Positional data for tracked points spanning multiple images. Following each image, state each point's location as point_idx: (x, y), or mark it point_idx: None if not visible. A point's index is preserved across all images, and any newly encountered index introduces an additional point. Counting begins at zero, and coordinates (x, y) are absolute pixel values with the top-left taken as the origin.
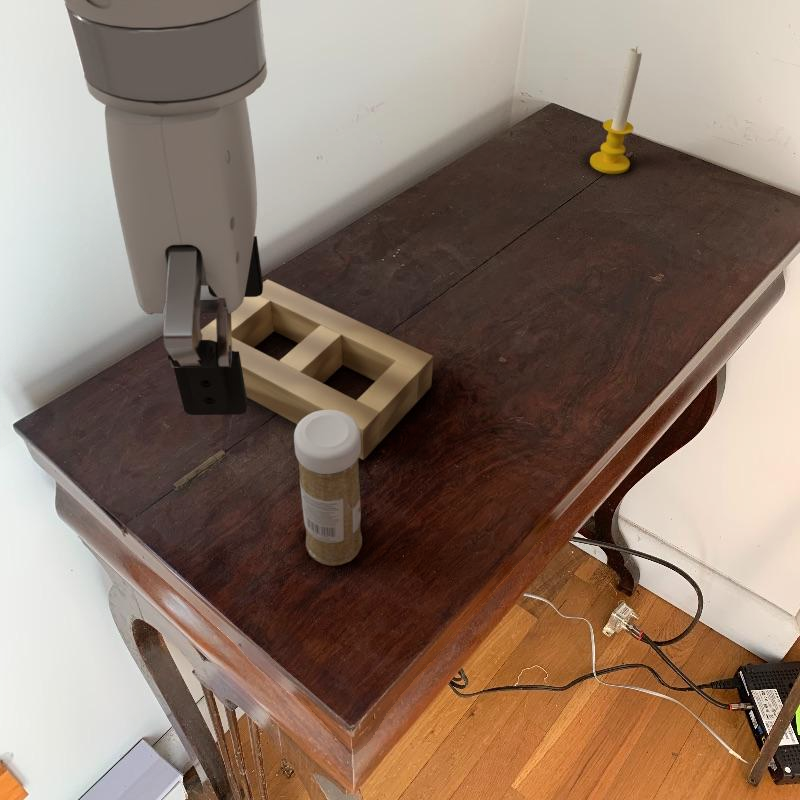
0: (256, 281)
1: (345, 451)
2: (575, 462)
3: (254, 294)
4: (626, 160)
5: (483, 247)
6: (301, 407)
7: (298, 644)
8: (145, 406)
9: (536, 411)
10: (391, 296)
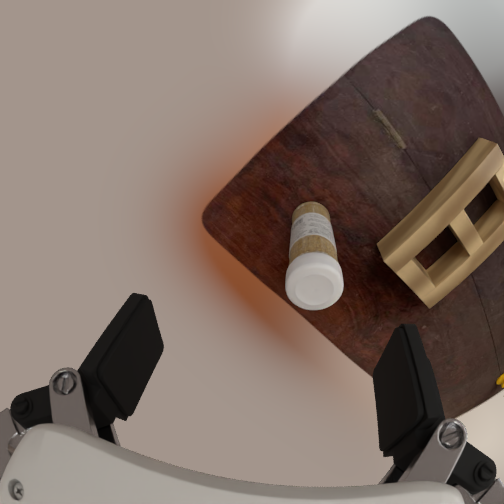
0: (375, 394)
1: (290, 299)
2: (342, 344)
3: (375, 372)
4: (499, 383)
5: (497, 326)
6: (422, 216)
7: (238, 193)
8: (452, 94)
9: (381, 336)
10: (493, 276)
